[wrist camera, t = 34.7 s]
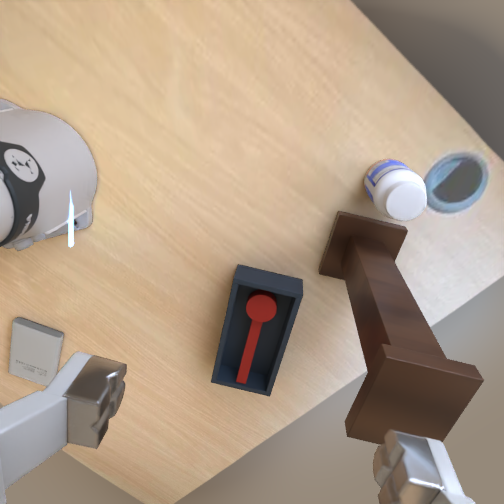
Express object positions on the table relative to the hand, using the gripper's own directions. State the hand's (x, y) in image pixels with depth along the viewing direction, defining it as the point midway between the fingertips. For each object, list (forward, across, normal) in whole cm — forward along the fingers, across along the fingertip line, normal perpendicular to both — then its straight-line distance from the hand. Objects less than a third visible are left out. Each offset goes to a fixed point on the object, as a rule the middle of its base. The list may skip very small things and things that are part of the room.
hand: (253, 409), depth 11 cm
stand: (+39, -13, +9) cm, 42 cm away
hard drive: (+39, +34, +43) cm, 67 cm away
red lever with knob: (+37, -2, +27) cm, 46 cm away
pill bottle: (+39, -13, 0) cm, 41 cm away
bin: (+39, -2, +26) cm, 47 cm away
